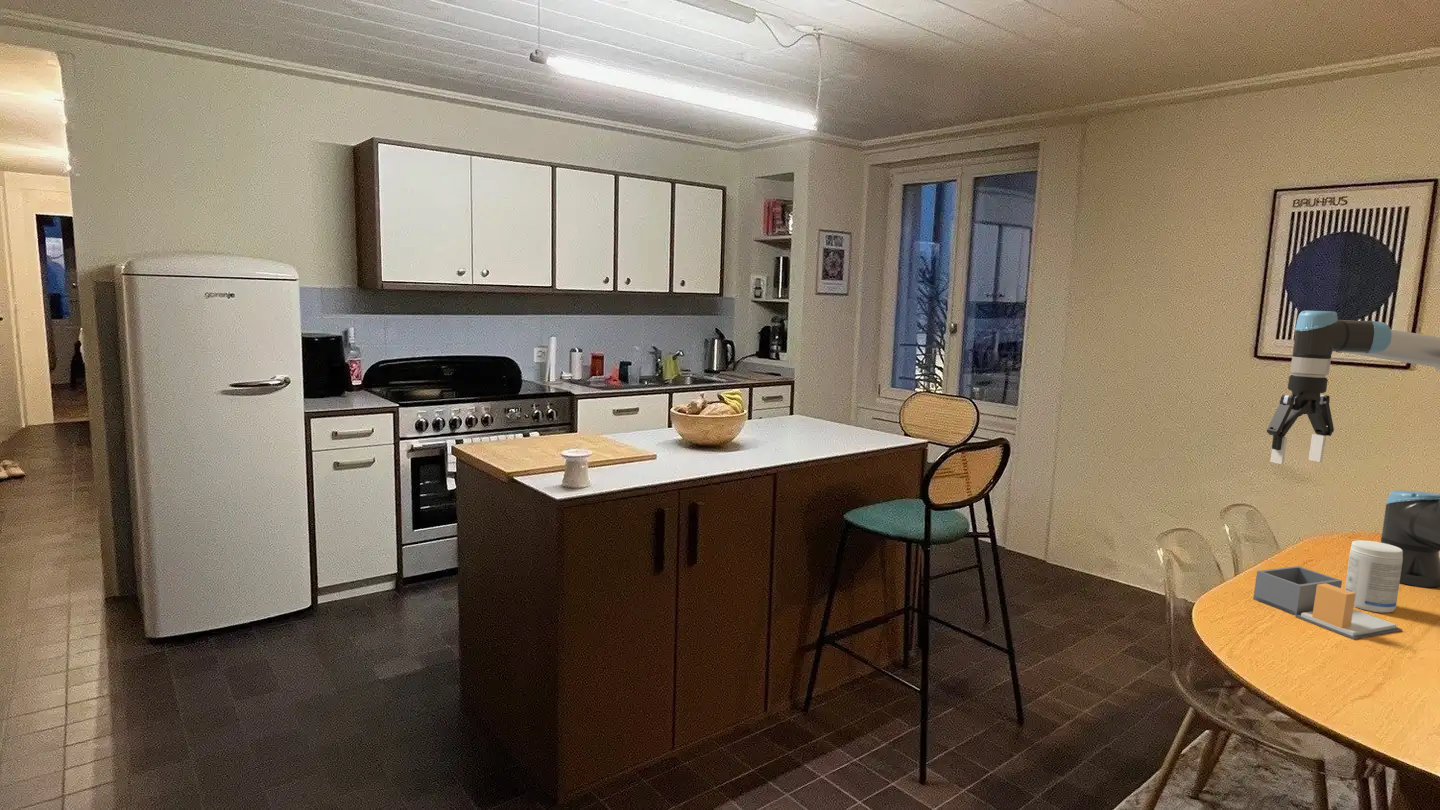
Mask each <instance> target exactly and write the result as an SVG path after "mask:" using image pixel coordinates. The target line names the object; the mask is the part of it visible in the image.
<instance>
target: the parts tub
mask: <svg viewBox="0 0 1440 810" xmlns="http://www.w3.org/2000/svg"><path fill="white" fill-rule="evenodd" d="M1255 576H1256V578H1255V584H1254V590H1253V597H1252V598H1253V600H1255V601H1256V602H1259V603H1262V604H1265V605H1267V606H1270V607H1272V608H1275V609H1277V610H1281V611H1282V612H1285V613H1288V614H1290V615H1293V616H1296V615H1301V613H1305V612H1311V611H1313V608H1314V602H1315V595H1316V588H1317V585H1318V584H1325V583H1327V584H1330V585H1333V586H1336V587H1339V588H1342V584H1343V580H1341V579H1339V578H1336V577H1332V576H1329V575H1328V574H1324V573H1320V572H1317V571H1314V570H1311V569H1308V568H1305V567H1302V566H1299V565H1294V566H1287V567H1280V568H1271V569H1261V570H1257V571H1256V575H1255Z"/></svg>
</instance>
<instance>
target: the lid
mask: <svg viewBox="0 0 1440 810" xmlns="http://www.w3.org/2000/svg"><path fill="white" fill-rule="evenodd" d="M1355 595H1356V593H1354V592H1351V591H1348V590H1345V588H1342V587H1341V588H1339V587H1336V586H1333V585H1330V584H1327V583H1325V584H1318V585H1317V588H1316V595H1315V602H1314V608H1313V611H1311V612H1305V613H1301V617H1304V618H1306V619H1309V620H1312V621H1314V622H1317V623H1320V624H1322V625H1325V626H1327V627H1330V628H1333V629H1335V630H1338V631H1341V632H1343V633H1346V634H1348V635H1351V636H1356V635H1361V634H1367V633H1372V632H1377V631H1383V630H1388V629H1394V628H1396V627H1397V623H1393V622H1390V621H1387V620H1384V619H1382V618H1380V617H1376V616H1373V615H1372V614H1371V615H1370V614H1367V613H1365V612H1362V611H1359V610H1356V609H1354V608H1355V607H1354V602H1355Z"/></svg>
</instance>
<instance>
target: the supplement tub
mask: <svg viewBox="0 0 1440 810" xmlns="http://www.w3.org/2000/svg"><path fill="white" fill-rule="evenodd" d="M1380 542H1381V541H1380ZM1380 542H1379V541H1373V540H1362V539H1360V540H1353V541H1352V542H1351V547H1350V550H1349V556H1348V562H1347V563H1348V564H1347V571H1346V572H1347V573H1346V577H1345V578H1346V579H1345V586H1344V589H1345V590H1348V591H1351V592H1354V593H1356V595H1355V602H1354V608H1357V609H1360V610H1364V611H1370V612H1373V613H1382V614H1383V613H1392V612H1394V611H1396V608H1397V603H1398V602H1397V601H1398V596H1399V588H1400V583H1399V582H1400V575H1401V569H1402V561H1403V556H1402V555H1403V550H1402V549H1400V548H1398V547H1396V546H1393V545H1389V544H1385V543H1380Z"/></svg>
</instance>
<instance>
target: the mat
mask: <svg viewBox="0 0 1440 810" xmlns="http://www.w3.org/2000/svg"><path fill="white" fill-rule="evenodd" d="M1294 616H1295V615H1294ZM1295 618H1297V619H1299V620H1302V621H1304V622H1307V623H1310V624H1311V625H1315V626H1317V627H1320V628H1322V629H1325V630H1328V631H1330V632H1333V633H1335V634H1338V635H1340V636H1343V637H1345V638H1348V639H1351V640H1359V639H1365V638H1370V637H1375V636H1383V635H1389V634H1393V633H1398V632H1399V633H1400V632H1403V629H1402V628H1400V627H1397V626H1396V628H1394V629H1388V630H1383V631H1377V632H1372V633H1367V634H1361V635H1356V636H1351V635H1348V634H1346V633H1343V632H1341V631H1338V630H1335V629H1333V628H1330V627H1327V626H1325V625H1322V624H1320V623H1317V622H1314V621H1312V620H1309V619H1306V618H1304V617H1301V615H1296V616H1295Z"/></svg>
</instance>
